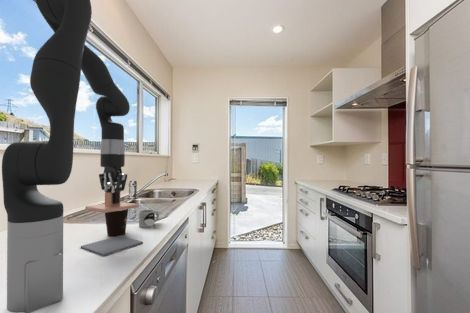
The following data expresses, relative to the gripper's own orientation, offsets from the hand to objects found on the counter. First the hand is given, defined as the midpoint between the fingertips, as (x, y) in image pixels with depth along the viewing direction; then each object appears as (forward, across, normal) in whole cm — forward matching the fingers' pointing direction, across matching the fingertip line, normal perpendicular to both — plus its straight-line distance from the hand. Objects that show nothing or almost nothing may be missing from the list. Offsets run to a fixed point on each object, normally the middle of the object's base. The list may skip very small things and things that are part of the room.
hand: (112, 202), depth 86 cm
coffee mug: (+15, -12, +10) cm, 22 cm away
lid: (+2, 0, 0) cm, 2 cm away
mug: (+15, -12, +25) cm, 32 cm away
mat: (+15, 0, 0) cm, 15 cm away
